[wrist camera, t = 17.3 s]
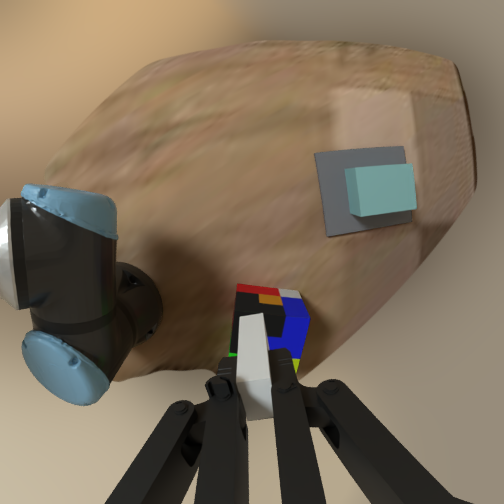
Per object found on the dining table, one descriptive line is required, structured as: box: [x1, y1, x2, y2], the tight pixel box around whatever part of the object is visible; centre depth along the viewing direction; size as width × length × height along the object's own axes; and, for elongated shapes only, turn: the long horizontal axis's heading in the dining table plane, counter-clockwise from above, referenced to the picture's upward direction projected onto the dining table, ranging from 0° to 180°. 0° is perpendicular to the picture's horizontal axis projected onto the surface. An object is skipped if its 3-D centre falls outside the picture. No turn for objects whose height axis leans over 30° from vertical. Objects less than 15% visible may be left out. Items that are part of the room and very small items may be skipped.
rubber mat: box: [314, 146, 412, 236], centre depth 41 cm, size 16×13×1 cm
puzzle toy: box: [229, 284, 310, 372], centre depth 41 cm, size 10×10×10 cm
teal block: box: [345, 164, 417, 217], centre depth 39 cm, size 4×7×10 cm
